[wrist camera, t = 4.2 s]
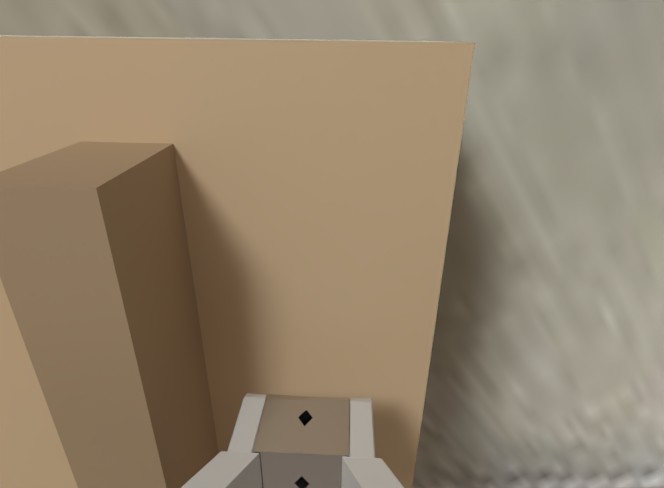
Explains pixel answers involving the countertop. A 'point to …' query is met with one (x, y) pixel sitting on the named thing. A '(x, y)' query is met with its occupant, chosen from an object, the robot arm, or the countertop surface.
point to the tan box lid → (215, 243)
